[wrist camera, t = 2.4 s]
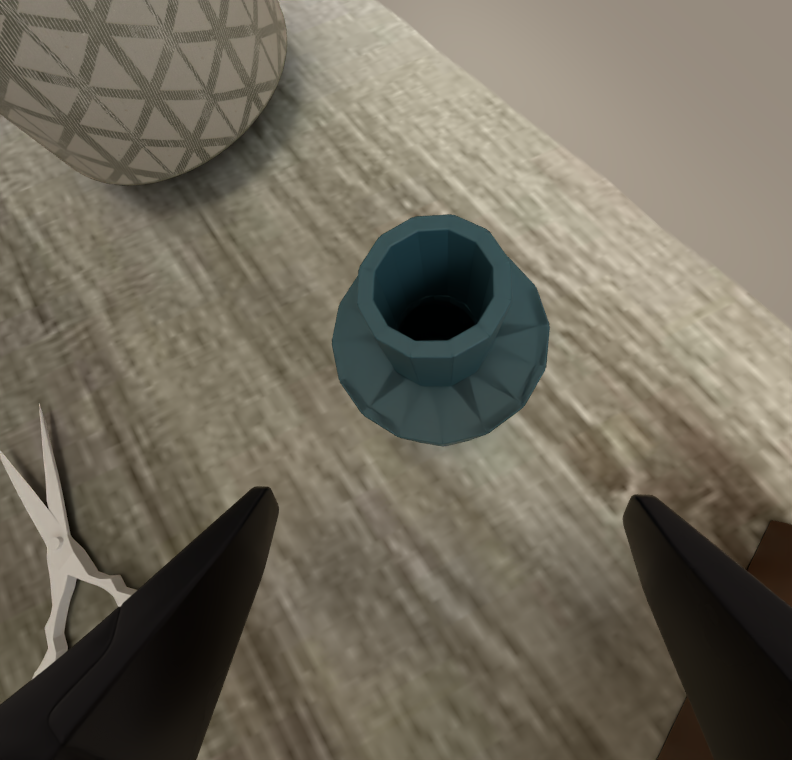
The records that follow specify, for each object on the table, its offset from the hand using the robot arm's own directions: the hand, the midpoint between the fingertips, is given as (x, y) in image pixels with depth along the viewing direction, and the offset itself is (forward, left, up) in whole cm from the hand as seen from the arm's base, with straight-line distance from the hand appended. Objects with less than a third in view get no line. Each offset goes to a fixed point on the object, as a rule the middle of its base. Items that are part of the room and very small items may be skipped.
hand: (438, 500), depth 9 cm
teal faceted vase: (+4, +3, -11) cm, 12 cm away
